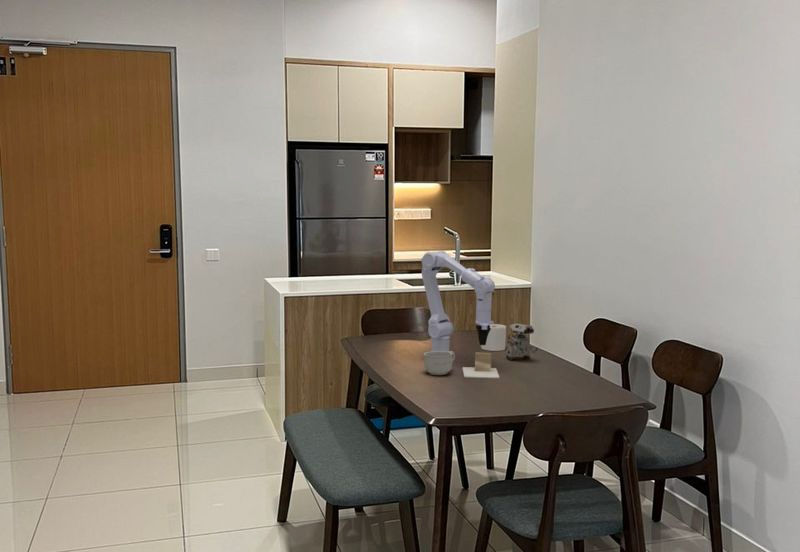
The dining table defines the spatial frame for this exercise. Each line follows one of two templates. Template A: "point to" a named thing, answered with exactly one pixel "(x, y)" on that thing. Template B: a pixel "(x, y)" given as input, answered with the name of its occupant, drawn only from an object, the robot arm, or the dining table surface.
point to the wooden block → (482, 361)
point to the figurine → (519, 341)
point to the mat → (479, 373)
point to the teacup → (438, 362)
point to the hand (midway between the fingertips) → (482, 344)
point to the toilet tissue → (496, 338)
